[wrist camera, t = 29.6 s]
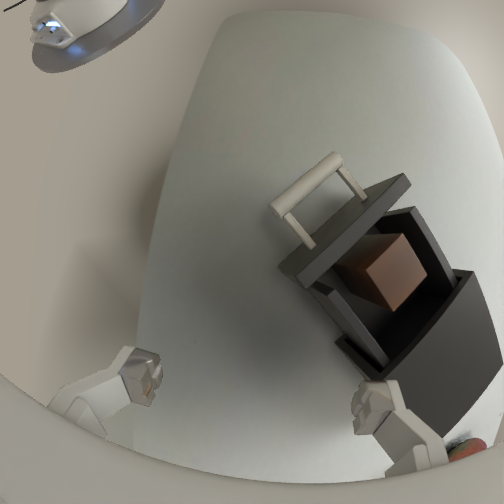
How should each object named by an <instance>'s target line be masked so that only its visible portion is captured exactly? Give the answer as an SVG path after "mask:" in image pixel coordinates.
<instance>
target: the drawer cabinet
mask: <svg viewBox="0 0 504 504" xmlns="http://www.w3.org/2000/svg"><path fill="white" fill-rule="evenodd" d="M452 271H453V273H454V275H455V277H456V279H457V281H458V285H457V286H456V288H455V289H454V290H453V292H452V293H451V294H450V296H449V297H448V298H447V300H446V301H445V302H444V304H443V305H442V306H441V308H440V309H439V310H438V311H437V313H436V314H435V315H434V316H433V317H432V319H431V320H430V321H429V322H428V323H427V325H426V326H425V327H424V328H423V329H422V330H421V332H420V333H419V334H418V335H417V336H416V337H415V338H414V339H413V340H412V342H411V343H410V344H409V345H408V346H407V347H406V348H405V349H404V350H403V351H402V352H401V353H400V354H399V355H398V356H397V357H396V358H395V359H394V360H393V361H392V362H391V363H390V364H389V365H388V366H387V367H386V368H385V369H384V370H383V371H382V372H381V371H380V370H379V369H378V368H377V367H376V366H375V365H373V364H372V363H371V362H370V361H369V360H368V359H367V358H366V357H365V356H363V355H362V354H361V352H360V351H359V350H358V349H357V348H356V346H355V345H354V344H353V343H352V341H351V340H350V339H349V338H348V337H347V335H346V334H344V335H343V336H341V337H340V338H339V339H338V340H337V341H336V342H335V344H336V345H337V346H338V347H339V349H340V350H341V351H342V352H343V353H344V354H345V356H346V357H347V358H348V359H349V360H350V361H351V363H352V364H353V365H354V366H355V367H356V368H357V369H358V371H359V372H360V373H361V374H362V375H363V376H364V378H365V379H366V380H396V381H397V382H398V385H399V388H400V391H401V394H402V397H403V400H404V403H405V407H406V409H410V410H411V411H412V412H413V413H414V414H415V415H416V416H417V417H419V418H420V419H421V420H422V421H423V422H424V423H425V424H426V425H427V426H429V427H430V428H431V429H432V430H433V431H434V432H435V433H437V434H438V435H439V436H440V437H441V438H443V437H444V436H445V435H446V434H447V433H448V432H449V431H450V430H451V429H452V428H453V427H454V426H455V425H456V424H457V423H458V422H459V421H460V420H461V418H462V417H463V416H464V415H465V414H466V413H467V412H468V410H469V409H470V408H471V407H472V406H473V405H474V403H475V402H476V401H477V400H478V398H479V397H480V396H481V395H482V393H483V392H484V391H485V389H486V388H487V387H488V385H489V384H490V383H491V381H492V380H493V379H494V377H495V376H496V374H497V373H498V371H499V370H500V368H501V367H502V365H503V360H502V355H501V351H500V347H499V343H498V339H497V336H496V332H495V329H494V325H493V322H492V319H491V316H490V313H489V310H488V307H487V304H486V301H485V298H484V296H483V293H482V290H481V288H480V285H479V283H478V280H477V278H476V275H475V273H474V271H466V270H458V269H452Z"/></svg>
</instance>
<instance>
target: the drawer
mask: <svg viewBox="0 0 504 504" xmlns="http://www.w3.org/2000/svg"><path fill="white" fill-rule="evenodd" d="M343 164H344V162H343V159H342V158H341V156H340V155H339V154H338V153H336V152H331V153H330V154H329V155H327V156H326V157H325V158H324V159H322V160H321V161H320V162H319V163H318V164H316V165H315V166H314V167H313V168H312V169H310V170H309V171H308V172H307V173H306V174H304V175H303V176H302V177H301V178H300V179H298V180H297V181H296V182H295V183H294V184H292V185H291V186H290V187H289V188H288V189H286V190H285V191H284V192H283V193H282V194H280V195H279V196H278V197H277V198H276V199H275V200H273V201H272V202H271V203H270V204H269V207H270V209H271V210H272V212H273V213H274V214H275V215H276V216H277V217H278V218H282V217H283V219H284V220H285V221H286V222H287V224H288V225H289V226H290V227H291V228H292V229H293V231H294V232H295V233H296V234H297V235H298V237H299V238H300V239H301V240H302V241H303V244H301V245H300V246H299V247H298V248H297V249H296V250H295V251H294V252H293V253H291V254H290V255H289V256H288V257H287V258H286V259H285V260H284V261H282V262H281V263H280V264H279V265H278V266H277V267H278V268H279V269H280V270H281V272H282V273H283V274H284V275H285V276H287V277H288V278H290V279H291V280H293V281H294V282H296V283H297V284H298V285H300V286H301V287H303V288H304V289H308V290H309V291H310V292H311V293H312V295H313V296H314V297H315V298H316V299H317V301H318V302H319V303H320V304H321V305H322V307H323V308H324V309H325V310H326V311H327V313H328V314H329V315H330V316H331V317H332V318H333V320H334V321H335V322H336V323H337V325H338V326H339V327H340V328H341V329H342V331H343V332H344V333H345V334H346V335H347V337H348V338H349V339H350V340H351V341H352V343H353V344H354V345H355V346H356V348H357V349H358V350H359V351H360V352H361V354H362V355H363V356H365V357H366V358H367V359H368V360H369V361H370V362H371V363H372V364H373V365H375V366H376V367H377V368H378V369H379V370H380V371H381V372H382V371H383V370H384V369H385V368H386V367H387V366H388V365H389V364H390V363H391V362H392V361H393V360H394V359H395V358H396V357H397V356H398V355H399V354H400V353H401V352H402V351H403V350H404V349H405V348H406V347H407V346H408V345H409V344H410V343H411V342H412V340H413V339H414V338H415V337H416V336H417V335H418V334H419V333H420V332H421V330H422V329H423V328H424V327H425V326H426V325H427V323H428V322H429V321H430V320H431V319H432V317H433V316H434V315H435V314H436V313H437V311H438V310H439V309H440V308H441V306H442V305H443V304H444V302H445V301H446V300H447V298H448V297H449V296H450V294H451V293H452V292H453V290H454V289H455V288H456V286H457V285H458V281H457V279H456V277H455V275H454V273H453V271H452V269H451V267H450V265H449V263H448V261H447V259H446V257H445V256H444V254H443V252H442V250H441V248H440V246H439V245H438V243H437V241H436V239H435V238H434V236H433V234H432V232H431V231H430V229H429V227H428V226H427V224H426V223H425V221H424V219H423V218H422V216H421V215H420V213H419V211H418V210H417V208H416V207H415V206H412V207H407V208H403V209H398V210H393V211H388V210H389V209H390V208H391V207H392V206H393V205H394V203H395V202H396V201H397V200H398V199H399V198H400V197H401V196H402V195H403V194H404V193H405V192H406V191H407V190H408V188H409V187H410V186H411V183H410V181H409V180H408V179H407V177H406V176H405V174H404V173H401V174H399V175H397V176H394V177H392V178H389V179H387V180H385V181H382V182H380V183H378V184H375V185H373V186H371V187H368V188H366V189H364V190H362V189H361V187H360V186H359V185H358V184H357V182H356V181H355V180H354V179H353V178H352V176H351V175H350V174H349V173H348V171H347V170H346V169H345V168H344V167H343V166H342V165H343ZM335 171H336V172H337V173H338V174H339V175H340V177H341V178H342V179H343V180H344V182H345V183H346V184H347V185H348V186H349V188H350V189H351V190H352V191H353V193H354V194H355V196H354V197H353V198H352V199H351V200H350V201H349V202H347V203H346V204H345V205H344V206H343V207H342V208H341V209H340V210H339V211H338V212H337V213H336V214H335V215H333V216H332V217H331V218H330V219H329V220H328V221H327V222H326V223H325V224H324V225H322V226H321V227H320V228H319V229H318V230H317V231H316V232H315V233H314V234H313V235H311V236H309V235H308V234H307V232H306V231H305V230H304V229H303V228H302V226H301V225H300V224H299V223H298V222H297V220H296V219H295V218H294V217H293V216H292V215H291V213H290V212H289V211H290V210H291V209H292V208H294V207H295V206H296V205H297V204H298V203H299V202H301V201H302V200H303V199H304V198H305V197H306V196H307V195H309V194H310V193H311V192H312V191H313V190H314V189H316V188H317V187H318V186H319V185H320V184H321V183H323V182H324V181H325V180H326V179H327V178H328V177H329V176H331V175H332V174H333V173H334V172H335ZM387 211H388V212H387ZM397 233H403V235H404V236H405V238H406V239H407V241H408V243H409V244H410V246H411V248H412V249H413V251H414V253H415V254H416V256H417V258H418V260H419V261H420V263H421V265H422V267H423V268H424V270H425V272H426V274H427V276H426V277H425V278H424V279H423V280H422V282H421V283H420V284H419V285H418V286H417V287H416V288H415V290H414V291H413V292H412V293H411V294H410V295H409V296H408V297H407V298H406V299H405V300H404V301H403V303H402V304H401V305H400V306H399V307H398V308H397V309H396V310H395V311H394V312H393V311H390V310H388V309H386V308H383V307H381V306H379V305H377V304H374V303H372V302H370V301H368V300H365V299H363V298H361V297H358V296H356V295H354V294H352V293H351V292H350V291H349V289H348V288H347V287H346V285H345V284H344V283H343V281H342V280H341V279H340V277H339V276H338V274H337V273H336V272H335V270H334V269H333V268H332V265H333V264H334V263H335V262H337V261H338V260H339V259H340V258H341V257H342V256H343V255H344V254H345V253H346V252H347V251H348V250H349V249H350V248H351V247H352V246H353V245H354V244H355V243H356V242H357V241H358V240H359V239H360V238H361V237H362V236H365V235H381V234H397Z"/></svg>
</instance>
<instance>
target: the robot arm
mask: <svg viewBox="0 0 504 504" xmlns="http://www.w3.org/2000/svg"><path fill="white" fill-rule="evenodd" d="M24 1H26V0H22V1H21V2H19V3H17V4H15V5H13V6H11V7H9V8H7V9H5V10H4V12H5V11H7V10H9V9H11V8H13V7H15V6H17V5H19V4H21V3H22V2H24ZM36 1H37V3H36V5H35V7H34V10H33V12H32V14H31V17H30V22H31V23H32V25H33V26H32V30H33V31H34V32H33V34H32V36H31V39H30V40H31V42H32V43H36V44H41V45H46V46H50V47H55V48H59V49H63V48H65V47H67V46H68V45H70V44H71V43H72V42H74V41H75V40H76V39H77V38H79V37H81V36H83V35H85V34H87V33H89V32H91V31H93V30H94V29H96V28H98V27H99V26H101V25H102V24H104V23H105V22H107V21H108V20H109V19H111V18H112V17H113V16H114V15H116V14H117V13H118V12H119V11H120V10H121V9H122V8H123V7H124V5H125V4H126V3H127V1H128V0H36ZM159 362H160V356H159V354H156V353H152V352H149V351H146V350H142V349H139V348H136V347H132V346H129V345H125V346H123V348H122V349H121V350H120V352H119V353H118V354H117V356H116V357H115V359H114V360H113V362H112V363H111V364H110V366H109V367H108V369H107V370H106V369H102V370H100V371H98V372H95V373H93V374H91V375H89V376H87V377H84V378H82V379H80V380H77V381H75V382H73V383H70V384H68V385H66V386H63V387H61V389H60V390H59V391H58V392H57V394H56V395H55V397H54V398H53V399H52V401H51V402H50V403H49V405H48V406H47V407H45V406H44V405H42V404H41V403H39V402H38V401H36V400H35V399H33V398H32V397H30V396H29V395H28V394H26V393H25V392H23V391H22V390H21V389H19V388H18V387H17V386H15V385H14V384H13V383H11V382H10V381H9V380H7V379H6V378H5V377H4V376H3V375H1V374H0V504H504V441H503V442H500V443H499V444H496V445H494V446H492V447H489V448H487V449H485V450H482V451H480V452H477V453H475V454H472V455H470V456H467V457H464V458H461V459H459V460H456V461H453V462H449V459H448V456H447V452H446V448H445V445H444V441H443V439H442V438H441V437H440V436H439V435H438V434H437V433H435V432H434V431H433V430H432V429H431V428H430V427H429V426H427V425H426V424H425V423H424V422H423V421H422V420H421V419H420V418H419V417H417V416H416V415H415V414H414V413H413V412H412V411H411V410H410V409H406V407H405V403H404V400H403V397H402V394H401V391H400V388H399V385H398V382H397V381H396V380H363V381H362V382H361V383H360V385H359V391H357V392H356V393H355V394H354V396H353V398H352V403H351V412H352V414H353V415H354V416H355V417H356V418H355V420H354V421H353V427H354V435H368V434H373V436H374V437H375V439H376V440H377V441H378V443H379V444H380V445H381V446H382V448H383V449H384V450H385V452H386V453H387V454H388V455H389V457H390V458H391V459H392V461H393V462H394V463H395V464H393V465H392V466H391V467H390V468H389V469H387V470H386V472H385V478H380V479H372V480H364V481H354V482H341V483H282V482H268V481H258V480H249V479H242V478H235V477H229V476H223V475H218V474H213V473H208V472H203V471H199V470H195V469H191V468H187V467H183V466H179V465H176V464H172V463H169V462H165V461H162V460H159V459H156V458H153V457H150V456H147V455H144V454H141V453H139V452H136V451H133V450H131V449H128V448H125V447H123V446H120V445H118V444H116V443H113V442H111V441H109V440H107V439H105V437H106V435H107V432H106V430H105V429H104V427H103V426H102V424H101V422H103V421H104V420H106V419H107V418H109V417H111V416H112V415H114V414H115V413H117V412H118V411H120V410H121V409H123V408H124V407H126V406H127V405H129V404H130V403H131V402H134V403H137V404H140V405H144V406H147V407H150V405H151V403H152V401H153V399H154V397H155V393H154V390H156V389H158V388H159V387H160V385H161V382H162V378H163V370H162V367H161V366H160V365H159Z"/></svg>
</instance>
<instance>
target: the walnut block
mask: <svg viewBox="0 0 504 504" xmlns="http://www.w3.org/2000/svg"><path fill="white" fill-rule="evenodd" d="M332 268H333V269H334V270H335V272H336V273H337V274H338V276H339V277H340V279H341V280H342V281H343V283H344V284H345V285H346V287H347V288H348V289H349V291H350V292H351V293H352V294H354V295H356V296H358V297H361V298H363V299H365V300H368V301H370V302H372V303H374V304H377V305H379V306H381V307H383V308H386V309H388V310H390V311H393V312H394V311H395V310H396V309H397V308H398V307H399V306H400V305H401V304H402V303H403V301H404V300H405V299H406V298H407V297H408V296H409V295H410V294H411V293H412V292H413V291H414V290H415V288H416V287H417V286H418V285H419V284H420V283H421V282H422V280H423V279H424V278H425V277H426V276H427V274H426V272H425V270H424V268H423V267H422V265H421V263H420V261H419V260H418V258H417V256H416V254H415V253H414V251H413V249H412V248H411V246H410V244H409V243H408V241H407V239H406V238H405V236H404V235H403V233H397V234H381V235H365V236H362V237H361V238H360V239H359V240H358V241H357V242H356V243H355V244H354V245H353V246H352V247H351V248H350V249H349V250H348V251H347V252H346V253H345V254H344V255H343V256H342V257H341V258H340V259H339V260H338V261H337V262H335V263H334V264H333V265H332Z"/></svg>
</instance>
